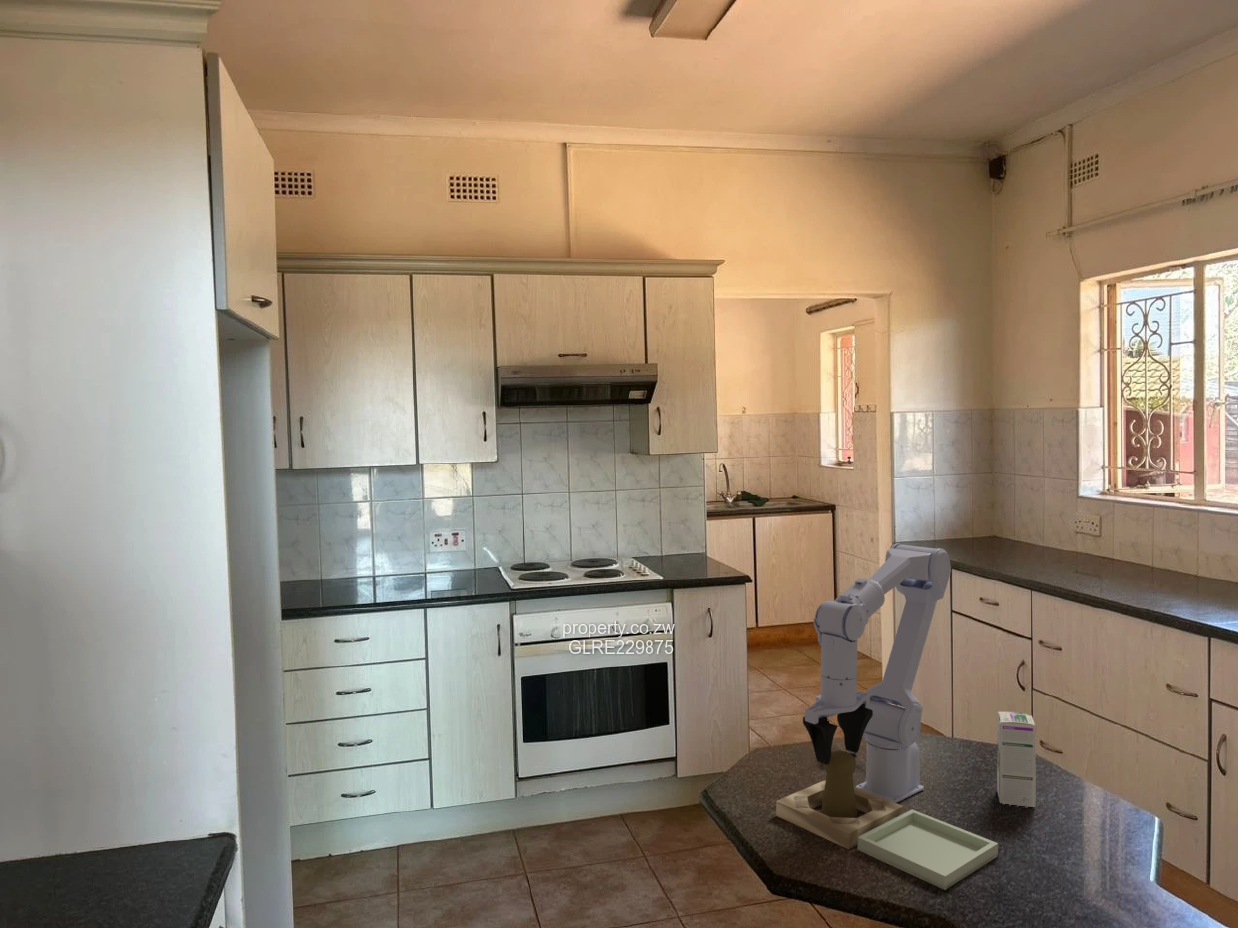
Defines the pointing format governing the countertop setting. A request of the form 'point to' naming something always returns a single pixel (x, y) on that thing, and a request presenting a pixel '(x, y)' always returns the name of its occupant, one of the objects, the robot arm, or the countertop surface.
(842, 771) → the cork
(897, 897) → the countertop surface
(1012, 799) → the syrup box
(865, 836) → the bin
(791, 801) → the socket board
